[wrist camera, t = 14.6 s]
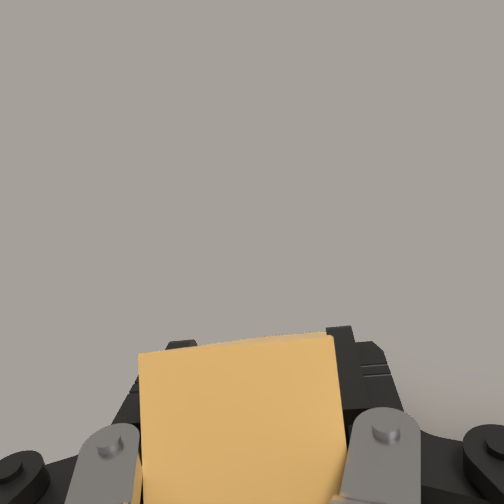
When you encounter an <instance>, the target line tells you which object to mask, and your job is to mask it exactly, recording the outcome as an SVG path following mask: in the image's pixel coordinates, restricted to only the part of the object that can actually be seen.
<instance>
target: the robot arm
mask: <svg viewBox="0 0 504 504" xmlns="http://www.w3.org/2000/svg"><path fill="white" fill-rule="evenodd" d="M326 334H327V335H331V336H333V338H334V346H335V355H336V363H337V371H338V380H339V388H340V396H341V405H342V413H343V421H344V430H345V438H346V446H347V458H346V464H345V469H344V474H343V479H342V484H341V490H340V494H339V495H333V496H332V499H331V501H330V504H504V426H503V425H494V424H488V425H480V426H477V427H474V428H472V429H471V430H469V431H468V432H467V433H466V434H465V436H464V439H463V442H462V441H457V440H451V439H446V438H441V437H437V436H433V435H430V434H428V433H425V432H423V431H422V430H420V428H419V425H418V424H417V422H416V421H415V420H414V419H413V418H412V417H411V416H410V415H408V414H407V413H405V412H404V410H403V407H402V404H401V401H400V398H399V396H398V393H397V390H396V387H395V384H394V381H393V378H392V375H391V372H390V370H389V367H388V365H387V361H386V358H385V355H384V352H383V350H381V349H380V348H379V347H378V346H377V345H376V344H375V343H373V342H372V341H369V342H356V343H355V340H354V336H353V332H352V328H351V326H340V327H329V328H326ZM193 346H197V343H196V341H195V340H183V341H171V342H169V344H168V346H167V347H166V349H165V350H170V349H177V348H185V347H193ZM129 392H130V393H129V394H128V395H127V397H126V399H125V400H124V402H123V404H122V406H121V408H120V409H119V411H118V413H117V415H116V417H115V418H114V420H113V422H112V424H111V425H109V426H107V427H104V428H102V429H100V430H99V431H97V432H95V433H94V434H93V435H91V436H90V437H89V438H88V439H87V440H86V441H85V443H84V444H83V445H82V447H81V449H80V452H79V454H78V455H76V456H73V457H70V458H67V459H64V460H60V461H57V462H53V463H50V464H47V465H45V463H44V460H43V458H42V456H41V454H39V453H38V452H36V451H21V452H17V453H14V454H11V455H9V456H7V457H5V458H3V459H1V460H0V504H144V500H143V469H142V446H141V419H140V391H139V375H138V377H137V379H136V381H135V384H134V385H133V386H132V388H131V390H130V391H129Z"/></svg>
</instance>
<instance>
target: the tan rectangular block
mask: <svg viewBox="0 0 504 504" xmlns="http://www.w3.org/2000/svg"><path fill="white" fill-rule="evenodd" d="M138 364H139V391H140V419H141V446H142V469H143V500H144V504H330V501H331V499H332V496H333V495H339V494H340V490H341V484H342V479H343V474H344V469H345V464H346V458H347V446H346V438H345V430H344V421H343V413H342V405H341V396H340V388H339V380H338V371H337V363H336V355H335V346H334V338H333V336H331V335H327V334H326V331H321V332H309V333H298V334H286V335H275V336H264V337H259V338H251V339H243V340H236V341H229V342H221V343H214V344H207V345H199V346H193V347H185V348H177V349H170V350H164V351H155V352H148V353H141V354H138Z"/></svg>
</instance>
